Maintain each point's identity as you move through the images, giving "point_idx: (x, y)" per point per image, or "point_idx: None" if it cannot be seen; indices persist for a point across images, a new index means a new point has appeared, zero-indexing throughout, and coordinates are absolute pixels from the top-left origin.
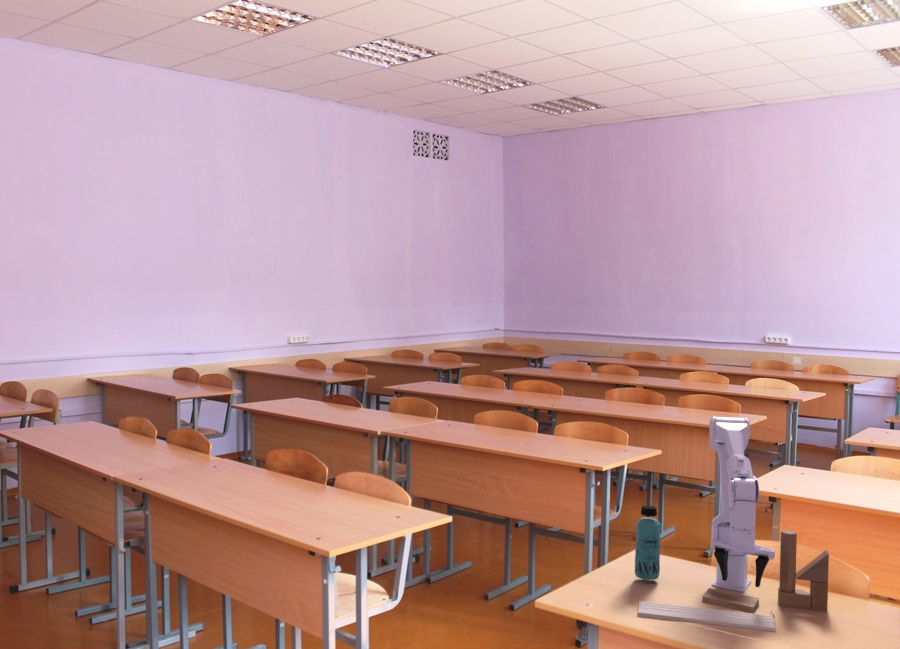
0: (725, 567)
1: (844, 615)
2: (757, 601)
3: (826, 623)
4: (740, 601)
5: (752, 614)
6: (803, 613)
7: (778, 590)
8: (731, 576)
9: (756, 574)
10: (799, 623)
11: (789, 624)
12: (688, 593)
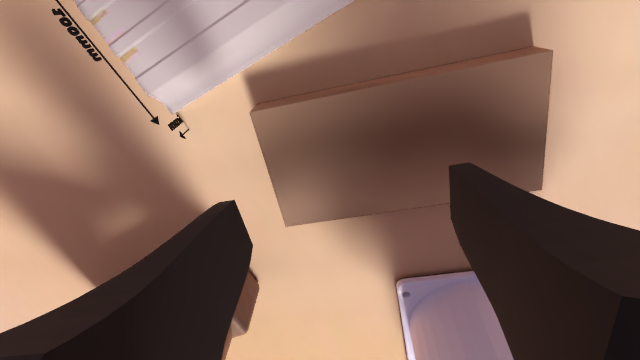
0: (492, 247)
1: (61, 304)
2: (277, 195)
3: (29, 211)
4: (334, 135)
5: (215, 30)
6: (137, 242)
7: (238, 313)
8: (465, 327)
9: (177, 252)
10: (69, 139)
11: (79, 95)
12: (635, 112)
